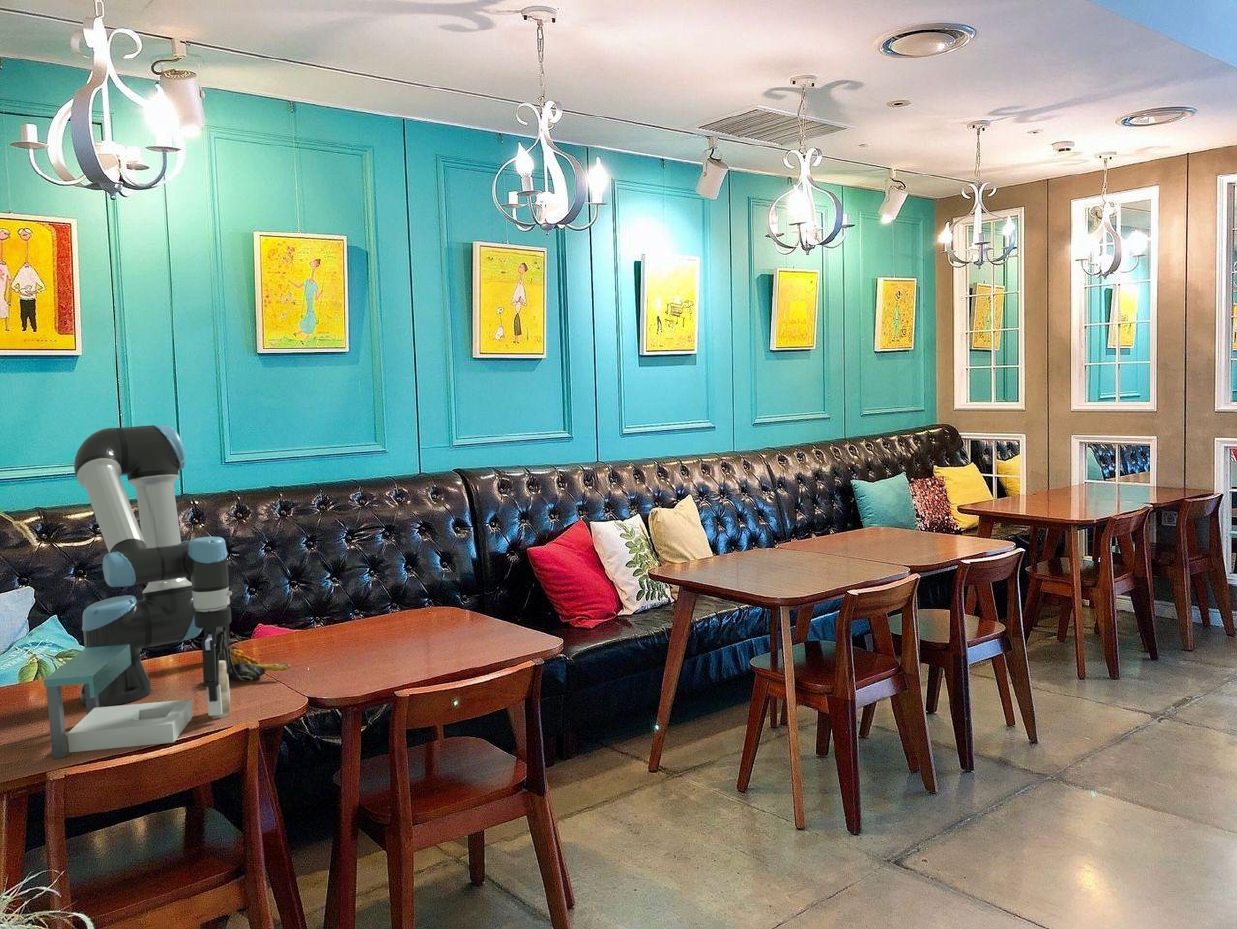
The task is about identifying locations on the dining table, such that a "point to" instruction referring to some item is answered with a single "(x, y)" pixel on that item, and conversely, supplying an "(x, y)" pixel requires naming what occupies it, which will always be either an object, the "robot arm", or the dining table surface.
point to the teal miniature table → (88, 669)
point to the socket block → (130, 725)
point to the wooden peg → (223, 690)
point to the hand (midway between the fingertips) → (219, 708)
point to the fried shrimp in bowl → (249, 666)
